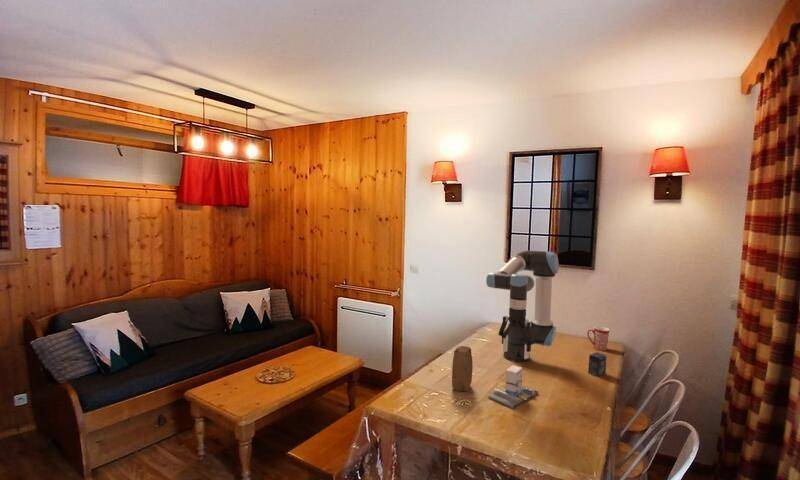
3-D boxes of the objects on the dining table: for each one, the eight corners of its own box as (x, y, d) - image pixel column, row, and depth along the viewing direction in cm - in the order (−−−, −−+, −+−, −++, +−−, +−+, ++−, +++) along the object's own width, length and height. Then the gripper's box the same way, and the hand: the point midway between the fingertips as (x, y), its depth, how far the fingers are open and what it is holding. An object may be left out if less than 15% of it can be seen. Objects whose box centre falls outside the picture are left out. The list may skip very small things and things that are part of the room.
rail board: (488, 397, 180) (488, 391, 179) (513, 384, 194) (514, 378, 194) (513, 408, 170) (513, 402, 170) (538, 393, 185) (538, 387, 185)
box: (598, 377, 206) (599, 357, 206) (587, 373, 211) (588, 354, 210) (605, 373, 211) (607, 354, 210) (595, 370, 216) (597, 351, 215)
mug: (607, 347, 253) (609, 327, 252) (608, 352, 245) (610, 331, 244) (586, 344, 259) (587, 324, 258) (586, 348, 250) (587, 328, 249)
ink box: (514, 398, 177) (516, 373, 177) (504, 394, 180) (505, 370, 180) (521, 391, 184) (523, 367, 183) (511, 388, 187) (512, 364, 186)
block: (464, 394, 183) (465, 352, 182) (449, 389, 187) (451, 348, 186) (473, 385, 192) (475, 346, 190) (460, 381, 196) (461, 343, 195)
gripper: (491, 304, 185) (490, 349, 187) (536, 314, 168) (534, 364, 170) (500, 302, 190) (498, 346, 192) (545, 311, 173) (542, 360, 175)
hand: (515, 354), depth 181 cm, fingers open, 10 cm apart
